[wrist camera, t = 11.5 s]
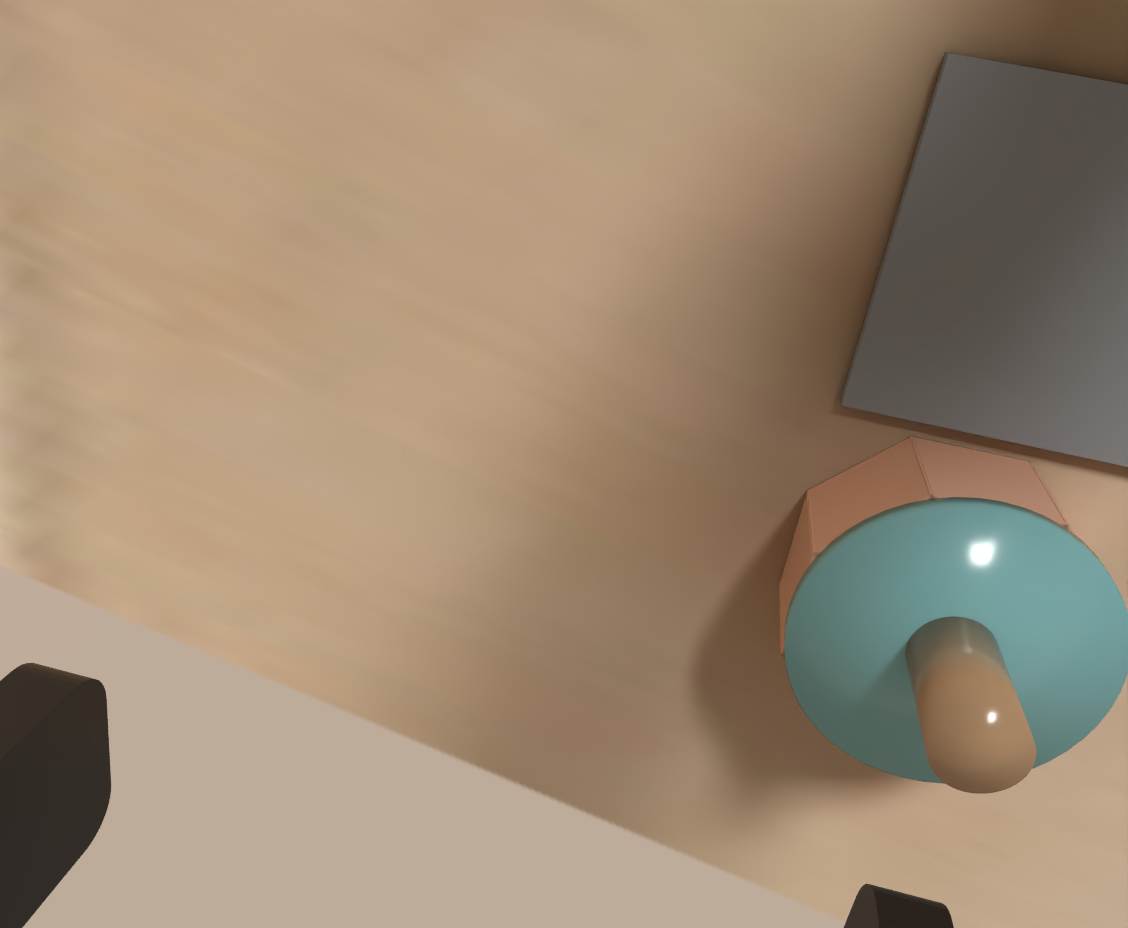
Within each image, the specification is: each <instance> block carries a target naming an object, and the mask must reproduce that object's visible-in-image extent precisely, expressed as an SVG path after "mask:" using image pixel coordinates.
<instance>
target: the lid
mask: <svg viewBox="0 0 1128 928" xmlns="http://www.w3.org/2000/svg"><path fill="white" fill-rule="evenodd" d="M784 644H785V659H786V669H787V673H788V677H789V680H790V684H791V687H792V689H793V692H794V694H795V696H796V699H797V701H798V703H799V704H800V706H801V708H802V709H803V711H804V712H805V714H806V716H807V717H808V718H809V720H810V721H811V722H812V723H813V724H814V726H815V727H816V728H817V729H818V730H819V731H820V732H821V733H822V734H823V735H824V736H825V737H826V738H827V739H828V740H829V741H830V742H832V743H833V744H834V745H835V746H837V747H838V748H840V749H841V750H842V751H844V752H845V753H847V754H848V755H850V756H852V757H853V758H855V759H857V760H859V761H861V762H862V763H864V764H866V765H869V766H871V767H874V768H876V769H878V770H881V771H883V772H886V773H890V774H893V775H896V776H900V777H903V778H908V779H913V780H918V781H924V782H935V783H945V784H947V785H949V786H951V787H953V788H955V789H958V790H961V791H964V792H969V793H993V792H998V791H1002V790H1005V789H1007V788H1010V787H1012V786H1014V785H1015V784H1017V783H1018V782H1020V781H1021V780H1023V779H1024V778H1025V777H1026V776H1027V774H1028V773H1029V772H1030V771H1031V769H1033V768H1035V767H1037V766H1040V765H1042V764H1044V763H1047V762H1049V761H1050V760H1052V759H1054V758H1056V757H1057V756H1059V755H1061V754H1063V753H1064V752H1066V751H1068V750H1069V749H1070V748H1072V747H1073V746H1074V745H1076V744H1077V743H1078V742H1080V741H1081V740H1082V739H1084V738H1085V737H1086V736H1087V735H1088V734H1089V733H1090V732H1091V731H1092V730H1093V729H1094V728H1095V727H1096V726H1097V725H1098V724H1099V723H1100V722H1101V720H1102V719H1103V718H1104V717H1105V715H1106V714H1107V713H1108V712H1109V710H1110V709H1111V707H1112V706H1113V704H1114V702H1115V700H1116V699H1117V697H1118V695H1119V694H1120V691H1121V689H1122V687H1123V684H1124V682H1125V679H1126V677H1127V673H1128V612H1127V609H1126V606H1125V602H1124V600H1123V598H1122V596H1121V594H1120V592H1119V590H1118V588H1117V586H1116V584H1115V582H1114V581H1113V579H1112V577H1111V576H1110V574H1109V572H1108V571H1107V569H1106V568H1105V567H1104V565H1103V564H1102V563H1101V561H1100V560H1099V558H1098V557H1097V556H1096V554H1095V553H1094V552H1093V551H1092V550H1091V549H1090V548H1089V547H1088V546H1087V545H1086V544H1085V543H1084V542H1083V541H1082V540H1081V539H1080V538H1078V537H1077V536H1076V535H1074V534H1073V533H1072V532H1070V531H1069V530H1068V529H1066V528H1065V527H1064V526H1062V525H1060V524H1058V523H1057V522H1055V521H1053V520H1051V519H1049V518H1048V517H1046V516H1044V515H1041V514H1039V513H1036V512H1034V511H1032V510H1029V509H1027V508H1024V507H1020V506H1017V505H1013V504H1010V503H1006V502H1002V501H996V500H989V499H983V498H968V497H949V498H935V499H928V500H922V501H917V502H912V503H907V504H904V505H901V506H897V507H894V508H891V509H887V510H885V511H883V512H880V513H878V514H876V515H873V516H871V517H869V518H867V519H865V520H863V521H861V522H860V523H858V524H856V525H854V526H853V527H851V528H849V529H848V530H846V531H845V532H844V533H842V534H841V535H840V536H838V537H837V538H836V539H834V540H833V541H832V542H831V543H830V544H829V545H828V546H827V547H826V548H825V549H823V550H822V551H821V552H820V553H819V554H818V555H817V556H816V558H815V559H814V560H813V562H812V563H811V564H810V565H809V567H808V568H807V569H806V571H805V572H804V574H803V576H802V577H801V579H800V581H799V583H798V584H797V586H796V588H795V591H794V593H793V596H792V598H791V601H790V604H789V607H788V612H787V616H786V621H785V636H784Z"/></svg>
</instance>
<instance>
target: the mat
mask: <svg viewBox="0 0 1128 928" xmlns="http://www.w3.org/2000/svg"><path fill="white" fill-rule="evenodd" d="M840 401H841V406H845V407H850V408H855V409H859V410H864V411H869V412H873V413H878V414H883V415H887V416H892V417H897V418H901V419H906V420H911V421H915V422H920V423H925V424H929V425H934V426H939V427H943V428H948V429H953V430H957V431H962V432H967V433H971V434H976V435H981V436H985V437H990V438H995V439H999V440H1004V441H1009V442H1013V443H1018V444H1023V445H1027V446H1032V447H1037V448H1041V449H1046V450H1051V451H1055V452H1060V453H1065V454H1069V455H1074V456H1079V457H1083V458H1088V459H1093V460H1097V461H1102V462H1107V463H1111V464H1116V465H1121V466H1125V467H1128V84H1122V83H1116V82H1111V81H1105V80H1099V79H1094V78H1088V77H1083V76H1077V75H1071V74H1066V73H1060V72H1054V71H1049V70H1043V69H1037V68H1032V67H1026V66H1020V65H1015V64H1009V63H1003V62H998V61H992V60H986V59H981V58H975V57H970V56H964V55H958V54H953V53H947V52H946V53H945V56H944V59H943V63H942V66H941V69H940V73H939V76H938V79H937V83H936V86H935V89H934V93H933V96H932V99H931V102H930V106H929V109H928V112H927V116H926V119H925V122H924V126H923V129H922V132H921V135H920V139H919V142H918V145H917V149H916V152H915V155H914V159H913V162H912V165H911V168H910V172H909V175H908V178H907V182H906V185H905V188H904V192H903V195H902V198H901V201H900V205H899V208H898V211H897V215H896V218H895V221H894V225H893V228H892V231H891V235H890V238H889V241H888V244H887V248H886V251H885V254H884V258H883V261H882V264H881V268H880V271H879V274H878V277H877V281H876V284H875V287H874V291H873V294H872V297H871V301H870V304H869V307H868V310H867V314H866V317H865V320H864V324H863V327H862V330H861V334H860V337H859V340H858V344H857V347H856V350H855V353H854V357H853V360H852V363H851V367H850V370H849V373H848V377H847V380H846V383H845V386H844V390H843V393H842V396H841V400H840Z"/></svg>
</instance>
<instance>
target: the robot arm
mask: <svg viewBox="0 0 1128 928" xmlns="http://www.w3.org/2000/svg"><path fill="white" fill-rule="evenodd" d="M110 793H111V776H110V756H109V737H108V719H107V699H106V691H105V688H104V686H103V685H102V683H101V682H100V681H99V680H96V679H92V678H89V677H85V676H80V675H77V674H73V673H69V672H66V671H62V670H58V669H54V668H50V667H46V666H43V665H39V664H35V663H26V664H23V665H21V666H19V667H17V668H16V669H14V670H13V671H12V672H10V673H9V674H8V675H7V676H6V677H4V678H3V679H2V680H1V681H0V928H22V927H23V926H24V925H25V923H26V922H27V921H28V920H29V919H30V917H31V916H32V915H33V914H34V913H35V911H36V910H37V909H38V908H39V907H40V905H41V904H42V903H43V902H44V901H45V899H46V898H47V897H48V896H49V894H50V893H51V892H52V891H53V890H54V888H55V887H56V886H57V885H58V883H59V882H60V881H61V880H62V879H63V877H64V876H65V875H66V874H67V872H68V871H69V870H70V869H71V868H72V866H73V865H74V864H75V863H76V861H77V860H78V859H79V858H80V857H81V855H82V854H83V853H84V852H85V850H86V849H87V848H88V846H89V845H90V844H91V842H92V841H93V839H94V837H95V836H96V834H97V832H98V830H99V828H100V826H101V824H102V821H103V819H104V816H105V814H106V811H107V807H108V804H109V799H110ZM844 928H954V927H953V923H952V919H951V915H950V913H949V910H948V909H947V907H946V906H945V905H944V904H943V903H939V902H935V901H931V900H927V899H924V898H920V897H916V896H912V895H908V894H904V893H901V892H897V891H893V890H889V889H885V888H882V887H878V886H874V885H870V884H865V885H863V886H862V887H861V889H860V890H859V892H858V894H857V896H856V899H855V901H854V904H853V906H852V908H851V911H850V913H849V916H848V918H847V921H846V923H845V926H844Z"/></svg>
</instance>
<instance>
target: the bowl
mask: <svg viewBox="0 0 1128 928" xmlns="http://www.w3.org/2000/svg"><path fill="white" fill-rule="evenodd" d="M806 492H807V494H806V497H805V500H804V504H803V507H802V510H801V514H800V517H799V520H798V524H797V527H796V530H795V534H794V537H793V540H792V544H791V547H790V550H789V554H788V557H787V560H786V564H785V567H784V570H783V574H782V577H781V580H780V583H779V610H780V651H781V656H782V657H783V658H784V660H785V661H786V659H785V644H784V636H785V621H786V616H787V612H788V607H789V604H790V601H791V598H792V596H793V593H794V591H795V588H796V586H797V584H798V583H799V581H800V579H801V577H802V576H803V574H804V572H805V571H806V569H807V568H808V567H809V565H810V564H811V563H812V562H813V560H814V559H815V558H816V556H817V555H818V554H819V553H820V552H821V551H822V550H823V549H825V548H826V547H827V546H828V545H829V544H830V543H831V542H832V541H833V540H834V539H836V538H837V537H838V536H840V535H841V534H842V533H844V532H845V531H846V530H848V529H849V528H851V527H853V526H854V525H856V524H858V523H860V522H861V521H863V520H865V519H867V518H869V517H871V516H873V515H876V514H878V513H880V512H883V511H885V510H887V509H891V508H894V507H897V506H901V505H904V504H907V503H912V502H917V501H922V500H928V499H935V498H949V497H968V498H983V499H989V500H996V501H1002V502H1006V503H1010V504H1013V505H1017V506H1020V507H1024V508H1027V509H1029V510H1032V511H1034V512H1036V513H1039V514H1041V515H1044V516H1046V517H1048V518H1049V519H1051V520H1053V521H1055V522H1057V523H1058V524H1060V525H1062V526H1064V527H1065V528H1066V529H1068V530H1069V531H1070V532H1072V531H1071V529H1070V528H1069V524H1068V522H1067V521H1066V519H1065V517H1064V516H1063V514H1062V512H1061V511H1060V509H1059V507H1058V506H1057V504H1056V502H1055V501H1054V499H1053V497H1052V496H1051V494H1050V492H1049V491H1048V489H1047V487H1046V486H1045V484H1044V482H1043V481H1042V479H1041V477H1040V476H1039V474H1038V473H1037V471H1036V469H1035V468H1034V466H1033V464H1032V463H1031V462H1030V461H1023V460H1019V459H1014V458H1009V457H1005V456H1000V455H996V454H991V453H986V452H982V451H977V450H972V449H968V448H963V447H958V446H954V445H949V444H945V443H940V442H935V441H931V440H926V439H921V438H917V437H913V436H910V437H909V438H907V439H905V440H903V441H901V442H899V443H898V444H896V445H894V446H892V447H890V448H888V449H886V450H884V451H882V452H880V453H878V454H876V455H874V456H873V457H871V458H869V459H867V460H865V461H863V462H861V463H859V464H857V465H855V466H853V467H851V468H850V469H848V470H846V471H844V472H842V473H840V474H838V475H836V476H834V477H832V478H830V479H828V480H826V481H825V482H823V483H821V484H819V485H817V486H815V487H813V488H811V489H808V490H807V491H806Z"/></svg>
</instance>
